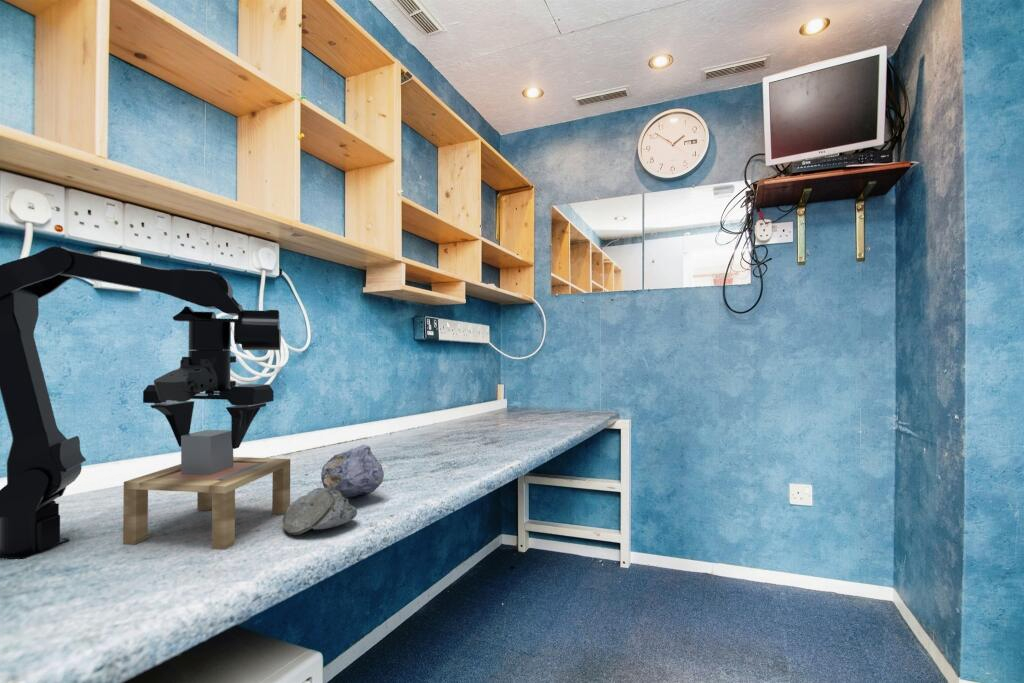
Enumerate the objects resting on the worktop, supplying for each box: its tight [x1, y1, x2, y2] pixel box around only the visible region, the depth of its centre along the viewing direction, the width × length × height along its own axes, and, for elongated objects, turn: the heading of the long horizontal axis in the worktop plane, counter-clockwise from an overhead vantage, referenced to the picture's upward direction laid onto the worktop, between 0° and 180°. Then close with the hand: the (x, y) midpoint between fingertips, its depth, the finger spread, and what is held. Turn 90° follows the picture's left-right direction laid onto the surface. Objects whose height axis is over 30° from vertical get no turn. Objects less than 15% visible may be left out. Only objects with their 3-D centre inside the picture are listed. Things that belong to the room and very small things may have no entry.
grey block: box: [180, 429, 234, 475], centre depth 76 cm, size 5×5×6 cm
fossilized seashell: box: [282, 486, 358, 536], centre depth 77 cm, size 10×9×10 cm
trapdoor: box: [162, 462, 264, 481], centre depth 76 cm, size 10×10×1 cm
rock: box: [320, 444, 385, 498], centre depth 88 cm, size 11×10×10 cm
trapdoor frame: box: [122, 456, 291, 551], centre depth 76 cm, size 16×16×9 cm
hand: (209, 447), depth 76 cm, fingers open, 9 cm apart
